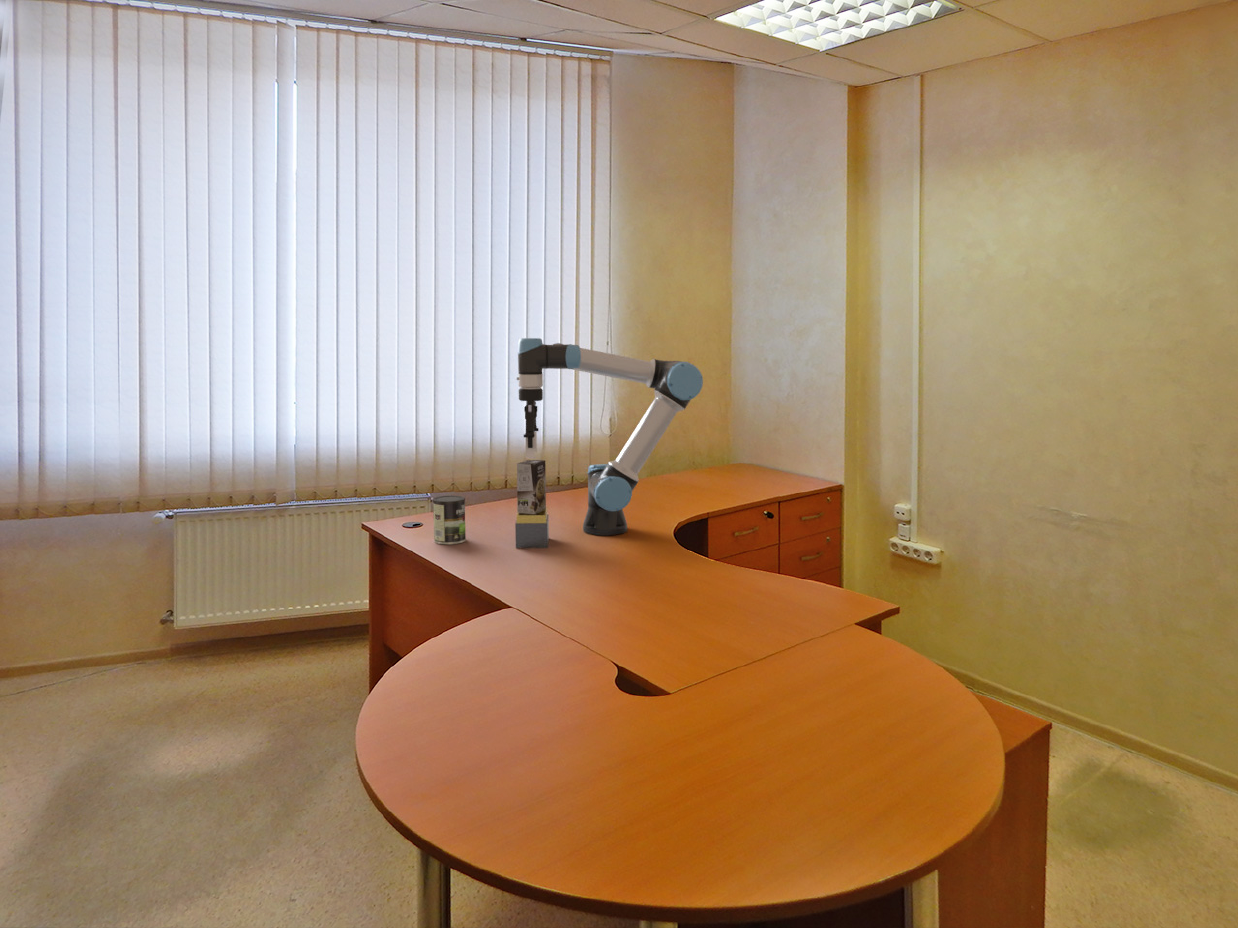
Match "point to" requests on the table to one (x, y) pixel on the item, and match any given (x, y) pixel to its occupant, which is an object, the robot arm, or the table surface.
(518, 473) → the coffee box
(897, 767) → the table surface
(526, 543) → the grey yellow open box
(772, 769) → the table surface
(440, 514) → the coffee can
